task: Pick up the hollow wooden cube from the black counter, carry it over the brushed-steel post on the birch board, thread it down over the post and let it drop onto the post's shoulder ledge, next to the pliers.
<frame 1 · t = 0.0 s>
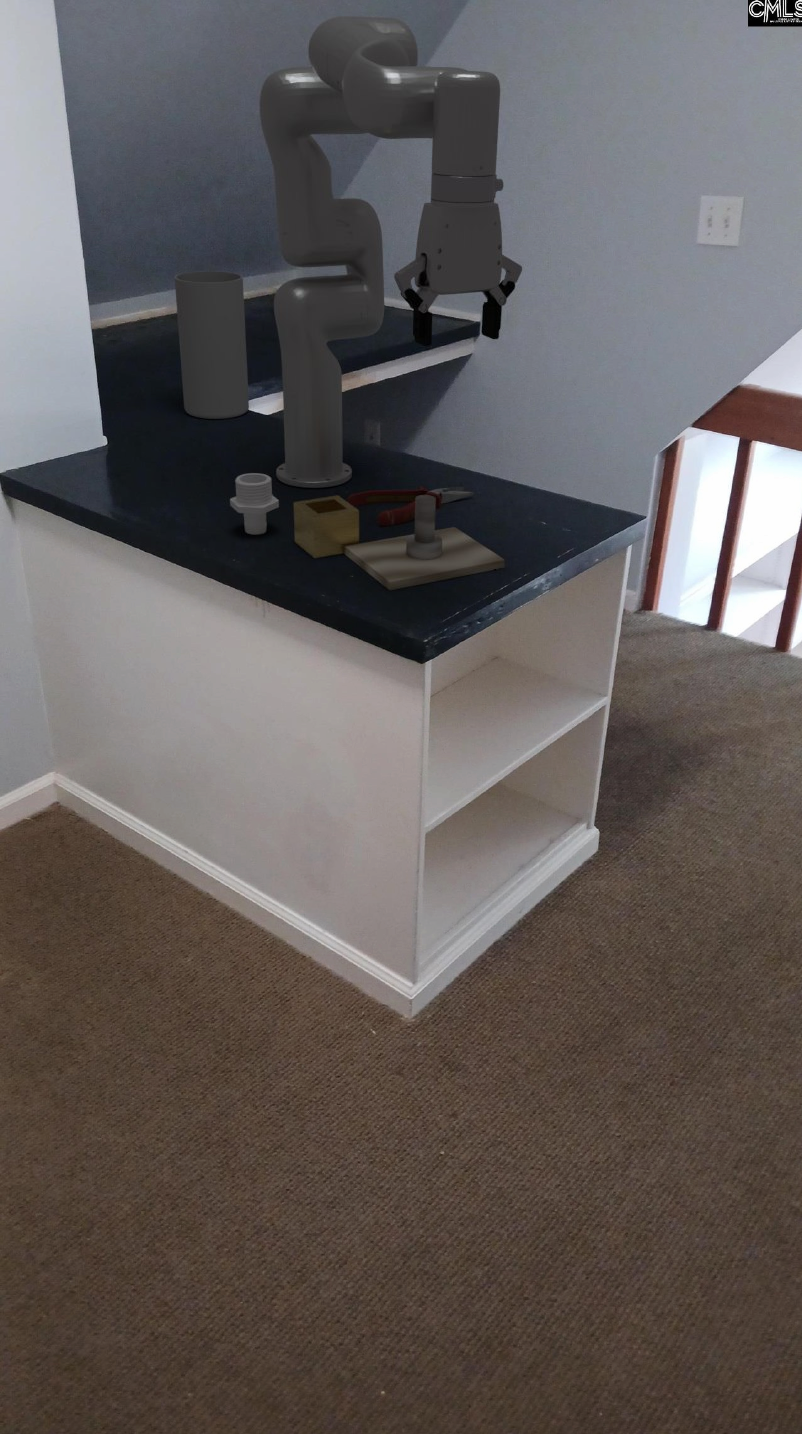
hand: (456, 340, 146), 31 cm above the worktop, tool pointing down, fingers open, 9 cm apart
cylinder vase: (217, 412, 229), on the worktop
pliers: (416, 513, 183), on the worktop
hollow wooden cube: (326, 545, 169), on the worktop
pipe fitting: (255, 532, 174), on the worktop
post stand: (423, 561, 165), on the worktop
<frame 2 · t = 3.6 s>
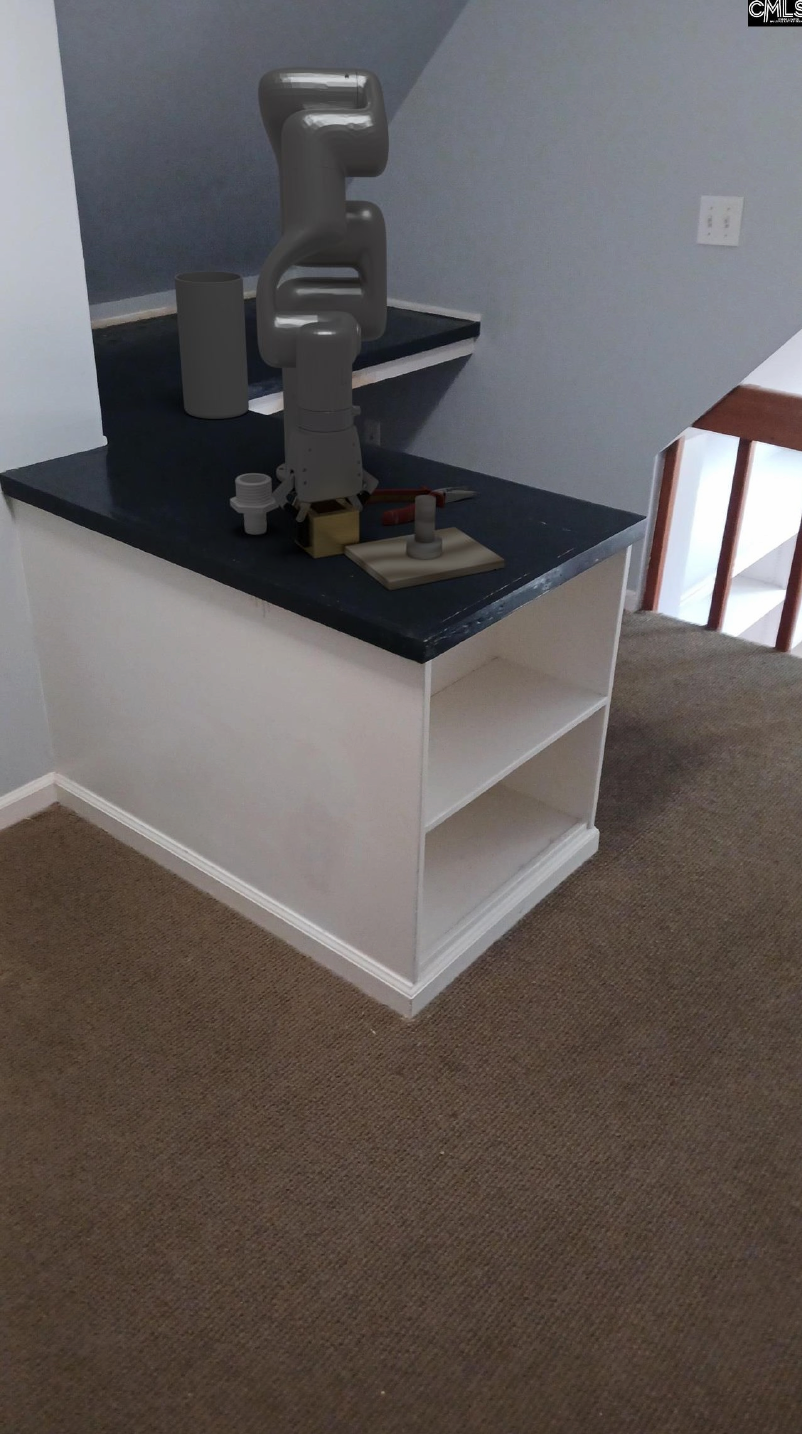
hand: (326, 539, 168), 1 cm above the worktop, tool pointing down, fingers closed on hollow wooden cube, 7 cm apart
hollow wooden cube: (326, 546, 169), on the worktop, touching gripper
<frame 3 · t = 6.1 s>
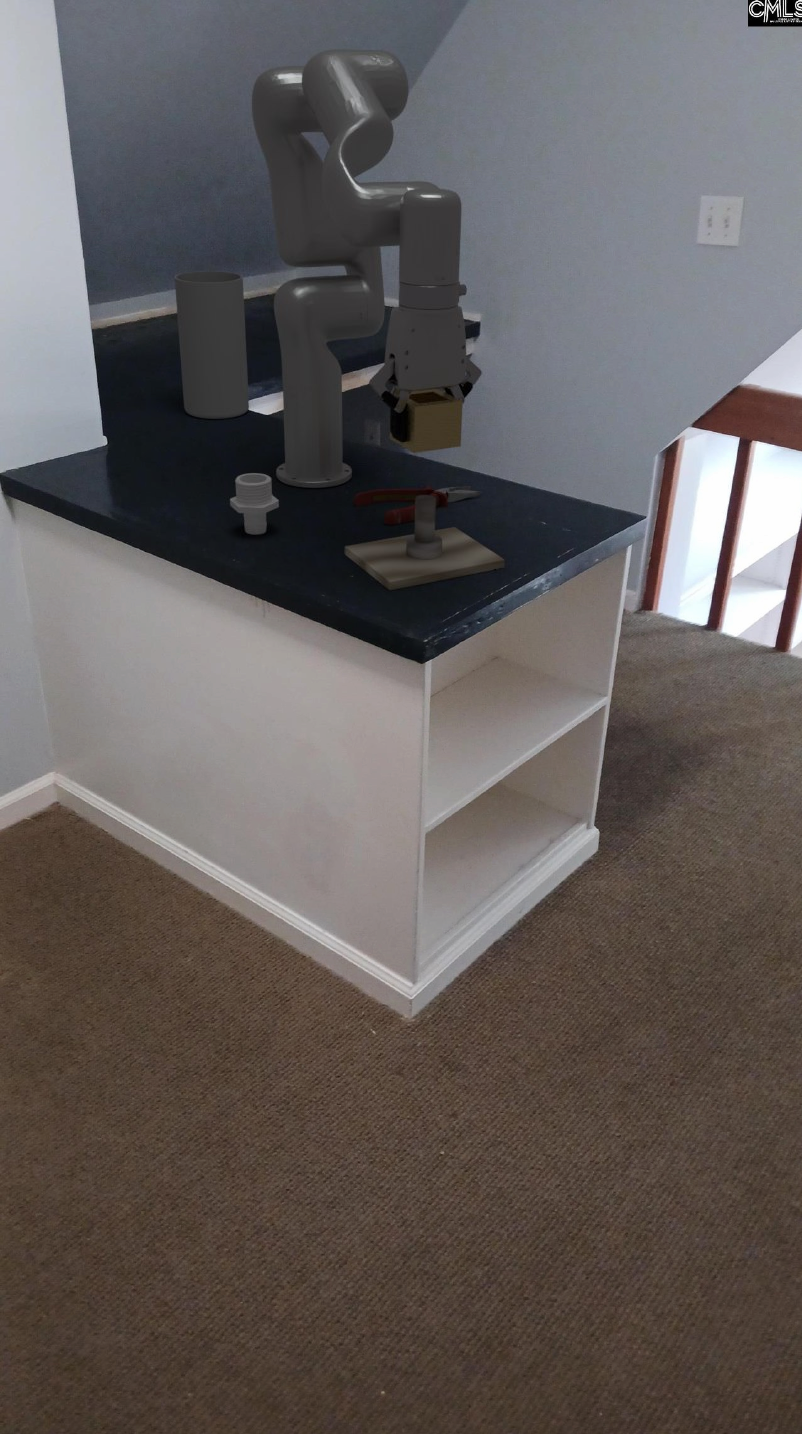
hand: (424, 435, 156), 18 cm above the worktop, tool pointing down, fingers closed on hollow wooden cube, 7 cm apart
hollow wooden cube: (424, 442, 156), point 17 cm above the worktop, touching gripper
when the fingers open (7 cm above the worktop, at t = 8.8 s): hollow wooden cube drops 3 cm, resting on post stand.
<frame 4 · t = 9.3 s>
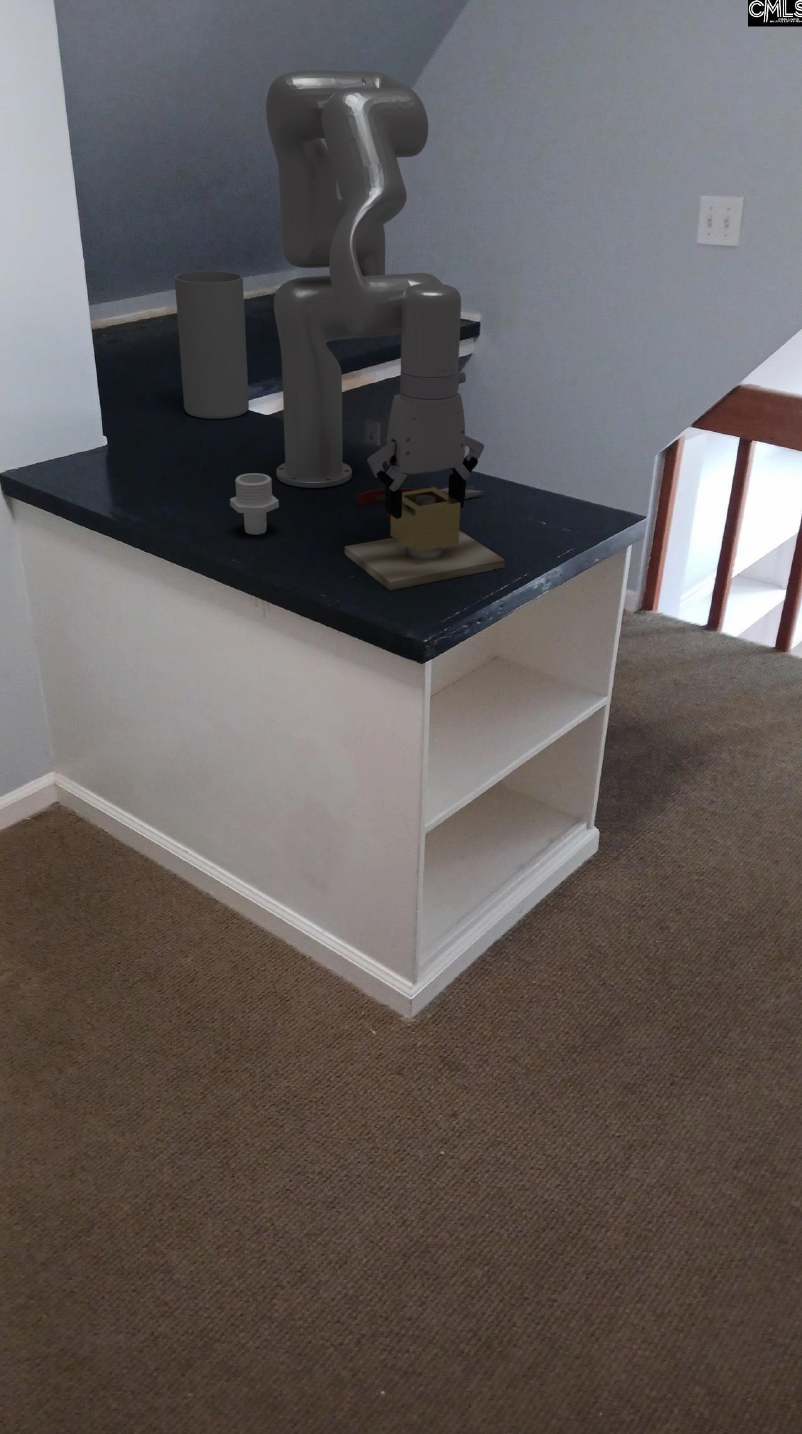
hand: (425, 510, 161), 8 cm above the worktop, tool pointing down, fingers open, 9 cm apart
hollow wooden cube: (424, 539, 163), point 3 cm above the worktop, touching post stand
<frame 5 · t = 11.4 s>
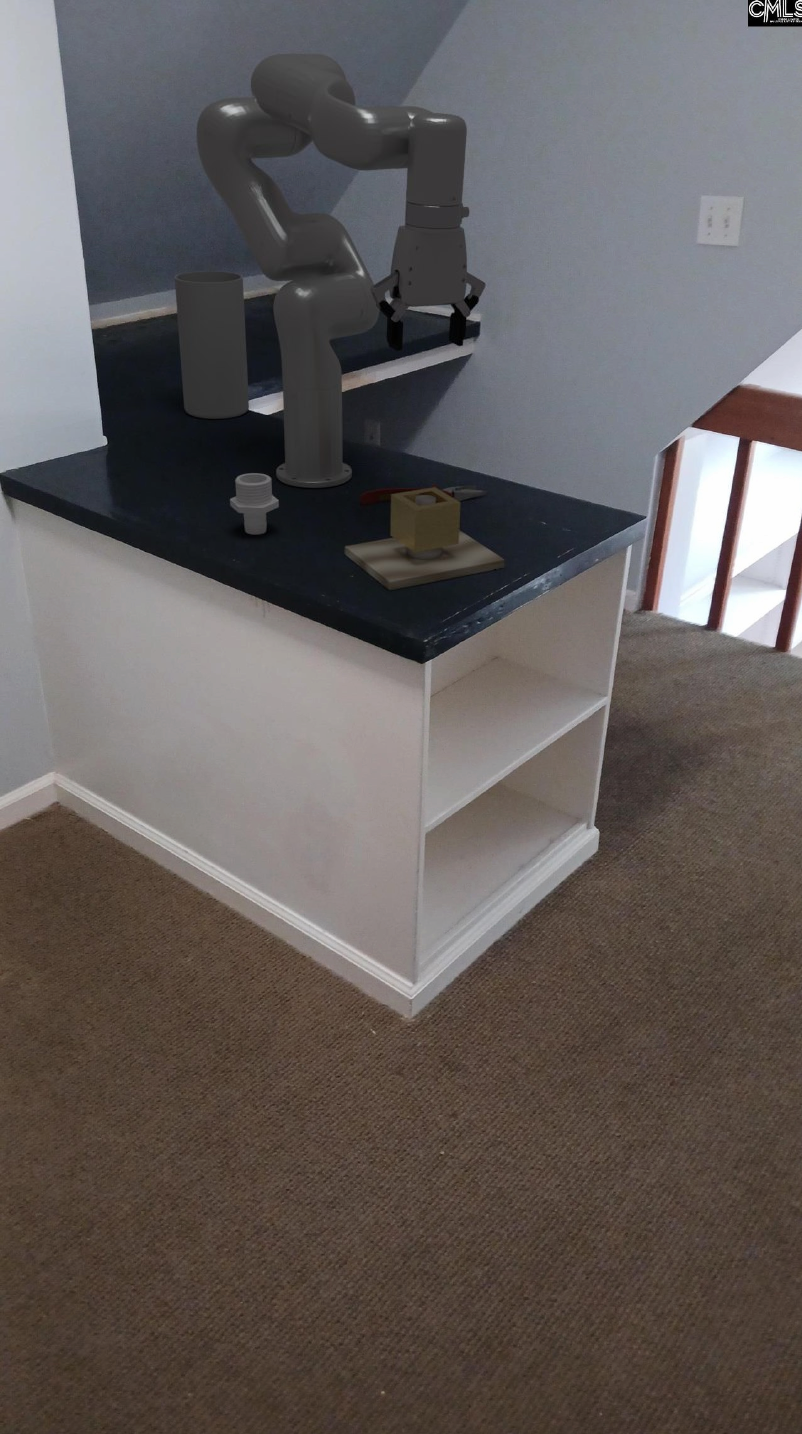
hand: (425, 346, 166), 26 cm above the worktop, tool pointing down, fingers open, 9 cm apart
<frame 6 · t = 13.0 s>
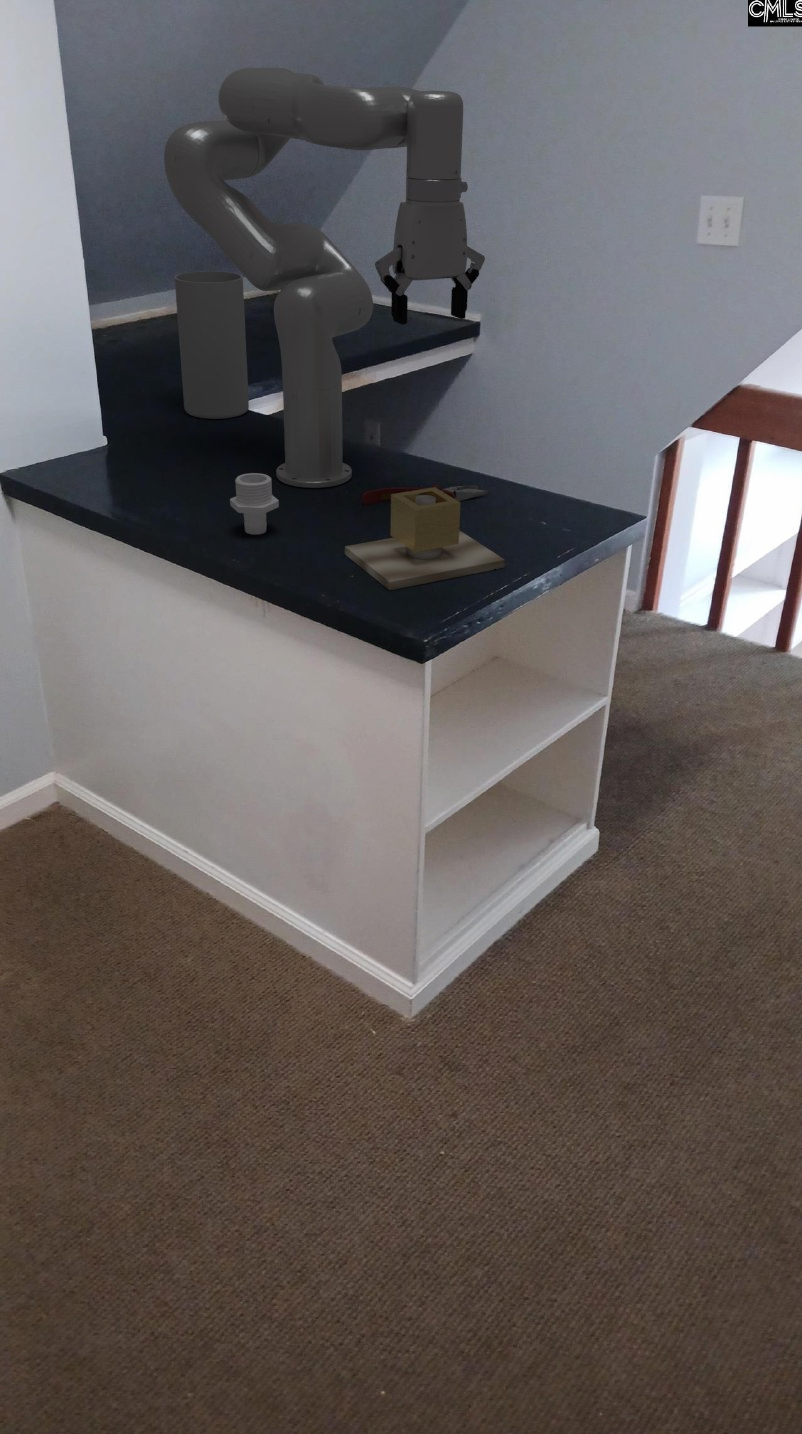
hand: (429, 320, 170), 28 cm above the worktop, tool pointing down, fingers open, 9 cm apart
at the end: hollow wooden cube 0.0 cm off-centre on the post stand, point 3.2 cm above the post stand's base; hollow wooden cube tilted 0°; the gripper is holding nothing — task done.
